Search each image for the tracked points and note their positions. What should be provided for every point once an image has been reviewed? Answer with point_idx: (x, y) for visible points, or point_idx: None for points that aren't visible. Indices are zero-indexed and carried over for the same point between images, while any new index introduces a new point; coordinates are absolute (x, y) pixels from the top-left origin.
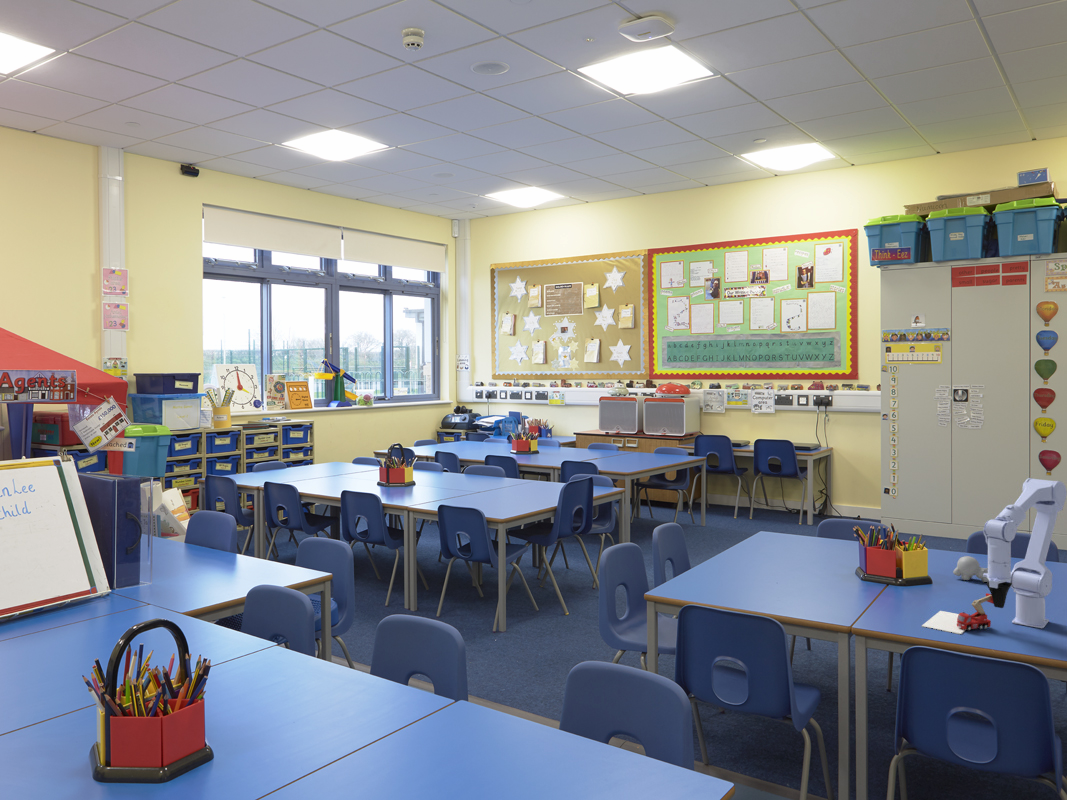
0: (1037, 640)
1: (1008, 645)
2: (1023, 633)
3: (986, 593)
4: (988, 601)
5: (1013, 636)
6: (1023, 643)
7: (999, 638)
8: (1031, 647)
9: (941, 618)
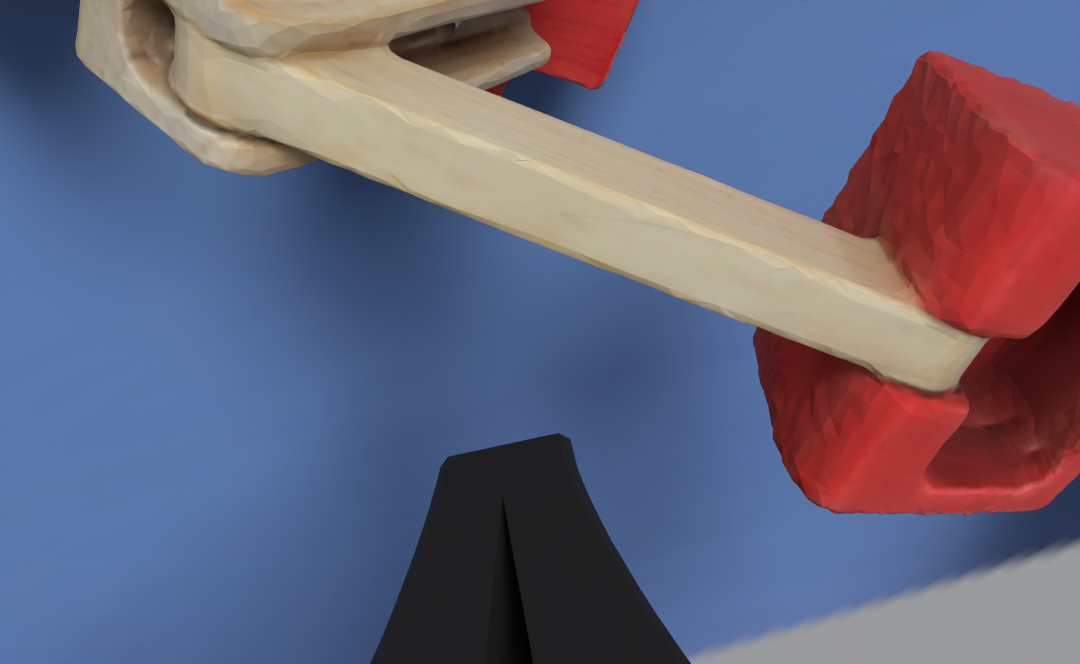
0: None
1: (49, 499)
2: (710, 397)
3: (1071, 182)
4: (870, 146)
5: (470, 387)
6: (303, 543)
7: (205, 331)
8: (248, 625)
9: None
